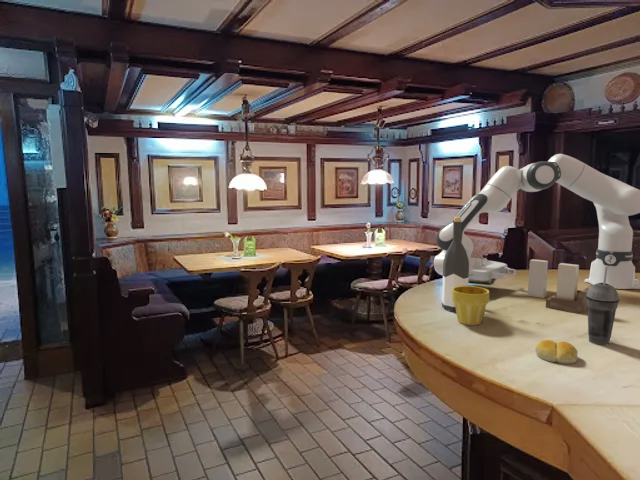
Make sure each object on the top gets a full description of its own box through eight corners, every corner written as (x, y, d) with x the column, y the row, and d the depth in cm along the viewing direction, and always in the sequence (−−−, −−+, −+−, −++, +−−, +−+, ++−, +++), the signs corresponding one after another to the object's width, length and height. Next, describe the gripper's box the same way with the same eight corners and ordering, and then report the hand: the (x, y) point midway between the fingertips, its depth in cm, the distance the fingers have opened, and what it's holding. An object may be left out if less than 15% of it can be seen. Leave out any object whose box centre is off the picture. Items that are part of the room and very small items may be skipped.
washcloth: (456, 282, 186) (457, 275, 185) (463, 274, 202) (463, 267, 201) (490, 285, 180) (490, 278, 180) (494, 277, 196) (495, 269, 195)
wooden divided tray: (560, 301, 154) (562, 280, 153) (594, 307, 148) (595, 285, 147) (545, 311, 143) (546, 288, 142) (580, 318, 136) (582, 294, 135)
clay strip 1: (530, 297, 160) (532, 259, 158) (545, 300, 156) (548, 260, 155) (527, 299, 158) (529, 260, 156) (542, 302, 154) (545, 262, 152)
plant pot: (469, 329, 126) (471, 295, 125) (443, 319, 136) (444, 288, 134) (495, 324, 131) (497, 291, 130) (469, 314, 140) (470, 284, 139)
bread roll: (536, 348, 113) (537, 333, 112) (578, 356, 108) (579, 340, 107) (532, 359, 106) (533, 343, 105) (575, 368, 101) (577, 351, 100)
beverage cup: (611, 338, 119) (617, 264, 116) (619, 348, 112) (626, 269, 109) (579, 335, 121) (585, 262, 118) (586, 345, 114) (592, 267, 111)
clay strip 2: (558, 305, 144) (561, 263, 142) (575, 308, 141) (579, 265, 139) (555, 307, 142) (558, 264, 140) (573, 310, 139) (576, 266, 137)
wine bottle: (468, 306, 149) (472, 216, 145) (465, 313, 142) (469, 218, 138) (443, 303, 153) (446, 215, 149) (439, 310, 145) (442, 217, 141)
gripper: (461, 265, 164) (498, 269, 155) (485, 257, 179) (520, 261, 170) (460, 281, 165) (497, 287, 156) (484, 273, 180) (520, 278, 170)
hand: (510, 274), depth 163 cm, fingers open, 8 cm apart
